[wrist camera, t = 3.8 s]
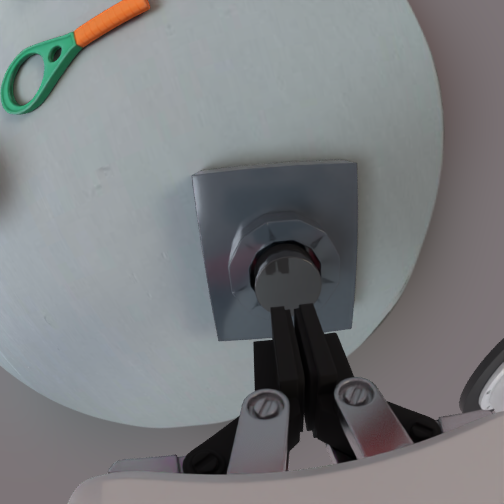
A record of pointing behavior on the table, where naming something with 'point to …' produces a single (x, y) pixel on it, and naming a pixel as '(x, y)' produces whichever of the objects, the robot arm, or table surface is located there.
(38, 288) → the table surface
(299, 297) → the button cap
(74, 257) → the table surface
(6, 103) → the magnifying glass
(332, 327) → the button housing
